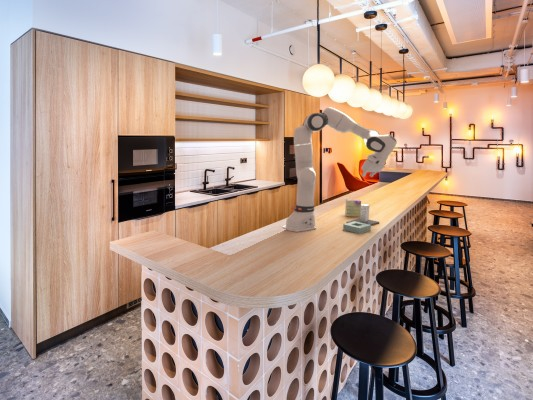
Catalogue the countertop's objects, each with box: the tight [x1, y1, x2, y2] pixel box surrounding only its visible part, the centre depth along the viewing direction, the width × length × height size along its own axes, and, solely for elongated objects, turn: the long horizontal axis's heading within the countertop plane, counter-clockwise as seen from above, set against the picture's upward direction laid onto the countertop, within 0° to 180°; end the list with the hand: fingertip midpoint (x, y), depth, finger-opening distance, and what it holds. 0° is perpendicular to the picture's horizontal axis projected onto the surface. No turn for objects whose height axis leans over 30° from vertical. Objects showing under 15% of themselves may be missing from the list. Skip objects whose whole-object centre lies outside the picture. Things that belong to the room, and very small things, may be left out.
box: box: [344, 198, 362, 218], centre depth 244 cm, size 10×6×12 cm, turn 84°
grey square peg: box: [359, 203, 370, 223], centre depth 221 cm, size 4×4×12 cm
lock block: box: [342, 221, 372, 235], centre depth 206 cm, size 12×12×4 cm
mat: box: [345, 218, 380, 227], centre depth 223 cm, size 18×14×1 cm
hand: (366, 176), depth 218 cm, fingers open, 8 cm apart
